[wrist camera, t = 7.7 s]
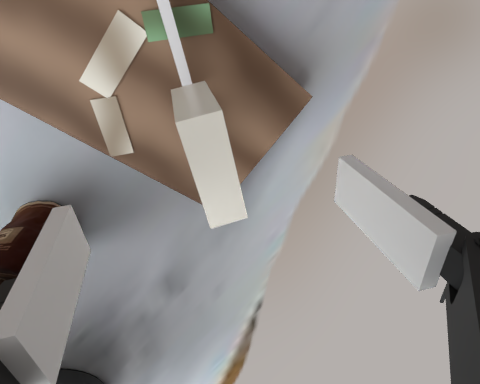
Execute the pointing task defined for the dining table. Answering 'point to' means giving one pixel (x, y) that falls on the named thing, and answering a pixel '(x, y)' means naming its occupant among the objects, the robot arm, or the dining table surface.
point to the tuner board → (141, 79)
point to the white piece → (204, 137)
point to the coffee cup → (21, 237)
